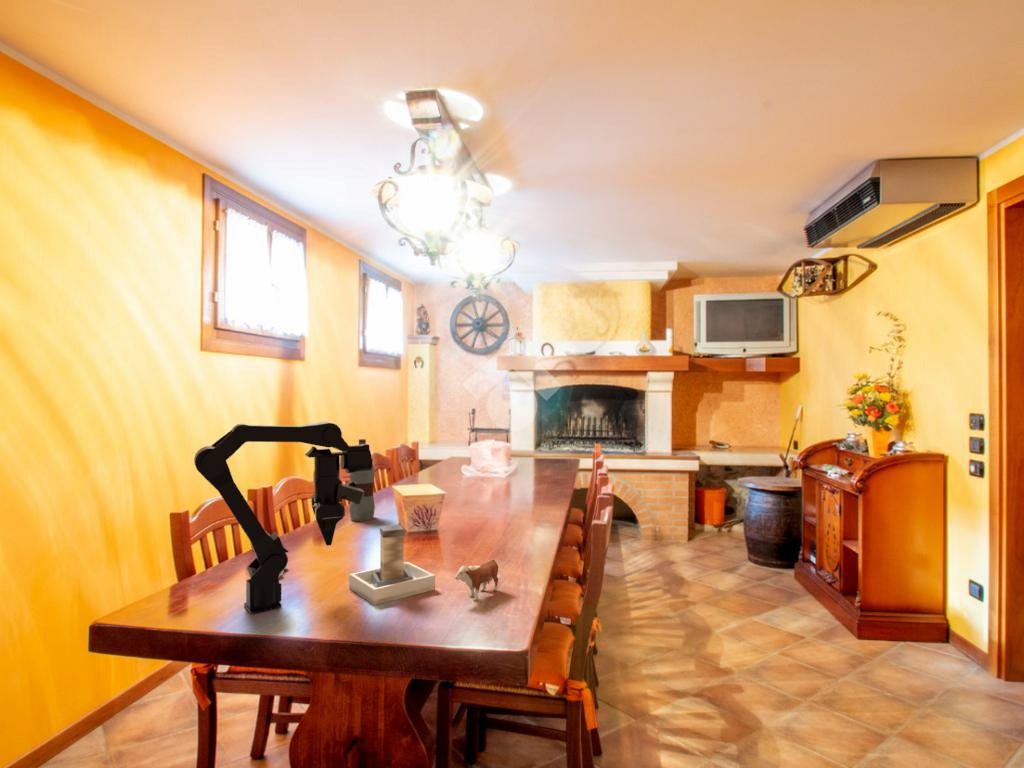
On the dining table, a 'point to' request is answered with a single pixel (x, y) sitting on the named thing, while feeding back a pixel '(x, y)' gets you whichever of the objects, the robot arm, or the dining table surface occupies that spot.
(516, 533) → the dining table surface
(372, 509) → the bottle
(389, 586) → the walled box
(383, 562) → the wooden block
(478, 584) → the bull figurine
